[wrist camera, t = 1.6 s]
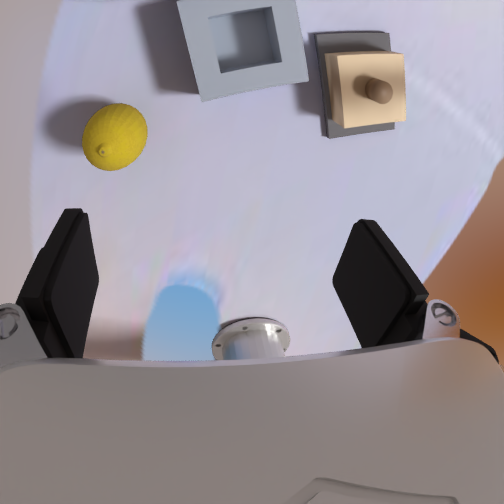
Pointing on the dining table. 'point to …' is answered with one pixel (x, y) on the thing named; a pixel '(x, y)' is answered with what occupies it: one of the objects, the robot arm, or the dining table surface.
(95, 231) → the dining table surface
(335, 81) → the lid
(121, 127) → the lemon
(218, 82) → the grey square container
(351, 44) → the grey rectangular plate
